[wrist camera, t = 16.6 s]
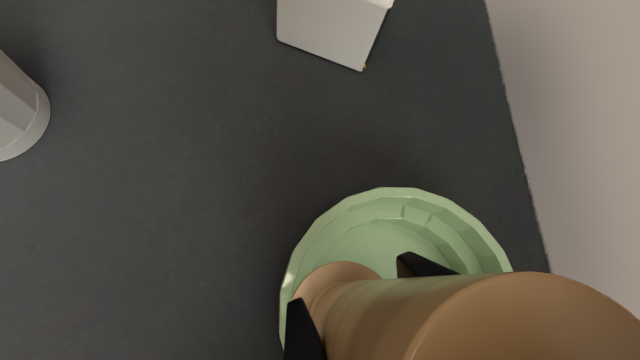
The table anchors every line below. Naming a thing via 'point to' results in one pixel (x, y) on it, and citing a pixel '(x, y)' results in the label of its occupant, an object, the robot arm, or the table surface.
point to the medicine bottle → (333, 28)
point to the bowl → (392, 238)
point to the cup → (20, 110)
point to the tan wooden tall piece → (464, 317)
